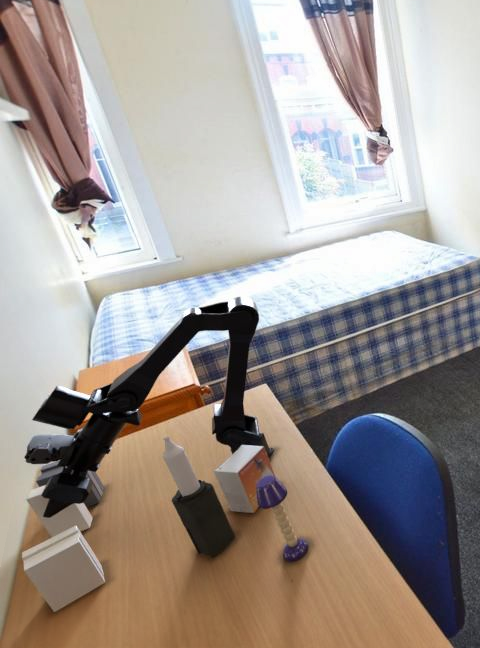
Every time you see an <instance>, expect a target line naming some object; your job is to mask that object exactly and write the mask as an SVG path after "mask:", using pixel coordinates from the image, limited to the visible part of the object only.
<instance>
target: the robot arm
mask: <svg viewBox="0 0 480 648" xmlns="http://www.w3.org/2000/svg"><path fill="white" fill-rule="evenodd" d="M259 321H260V314H259V310H258V306H257V304H256V302H255V301H254V300H253V299H252V298H250V297H248V296H236V297H234V298H233V299H231V300H228V301H221V302H216V303H213V304H209V305H204V306H199V307H198V306H197V307H190V308H187V309H186V310H185V311H184V312H183V313H182V316H181V317H180V318H179V319H178V320H177V322H175V324H174V325H172V327H170V329H169V330H168V331H167V332H166V333H165V334H164V336H163V337H162V338H160V340H158V342H157V343H156V344H155V345H154V347H153V348H151V350H150V351H149V352H148V353H147V354H146V355H145V357H144V358H142V359H141V360H140V361H138V362H137V363H135V364H133V365H131V366H130V367H129V368H127V369H126V370H125V371H123V372H122V373H120V374H119V375H118V376H117V377H115V378H114V379H113V381H112V382H110V383H108V384H106V385H103V386H100V387H98V388H96V389H93V390H92V391H91V394H90V395H89V394H86V393H82V392H78V391H76V390H72V389H70V388H67V387H65V386H62V385H56V386H55V387H54V389H53V390H52V392H51V393H50V394H49V395H48V394H47V397H46V398H45V400H44V401H43V402H42V404H41V405H40V407H39V408H38V410H37V412H36V413H35V414H34V416H33V418H32V419H31V421H33V422H37V423H42V424H46V425H50V426H53V427H58V428H62V429H66V430H75V428H76V427H77V426H78V427H81V425H82V424H83V423H84V421H85V420H86V419H87V417H88V415H89V414H91V415H90V417H89V418H88V420H87V421H86V423H85V424H84V426H83V427H82V428H80V429H77V431H75V433H72V434H71V435H67V434H37V435H34V436H32V437H31V439H30V440H29V442H28V444H27V446H26V454H25V455H24V456H23V457H24V459H25V462H26V463H27V464H30V465H47V464H50V463H53V462H56V461H59V462H58V464H57V466H61V467H64V468H63V470H62V472H61V473H58V474H55V475H52V477H51V478H50V480H49V481H48V483H47V485H46V486H45V488H44V490H43V492H42V494H41V496H42V497H44V498H47V499H49V501H48V504H47V507H46V509H45V512H44V515H43V517H46V518H50V517H52V516H54V515H55V514H57V513H59V512H60V511H62V510H63V509H65V508H67V507H68V506H70V505H72V504H74V503H76V504H81V503H84V501H85V500H86V498H87V497H88V495H89V493H90V491H91V488H92V485H93V482H92V481H91V479H90V478H87V477H86V475H87V472H88V471H93V472H96V473H97V472H98V470H99V469H100V465H101V463H102V461H103V459H104V458H105V456H106V455H109V454H110V452H111V451H112V448H113V445H114V443H115V442H116V441H117V439H118V437H119V436H120V434H121V433H122V431H123V430H124V428H125V427H126V425H127V424H128V425H132V426H137V427H139V426H140V425H141V422H142V419H143V414H142V413H141V412H140V408H141V407H142V405H143V404H144V403H145V401H146V399H147V398H148V396H149V395H150V393H151V391H152V389H153V388H154V386H155V383H156V382H157V380H158V378H159V376H160V375H161V374H162V373H163V372H164V371H165V369H167V368H168V366H169V365H170V364H171V363H172V362H173V361H174V359H176V357H177V356H178V355H179V354H180V353H181V352H182V351H183V350H184V348H186V347H187V346H188V344H189V343H190V342H191V341H193V339H194V337H195V336H196V335H197V334H198V333H200V332H206V331H207V332H208V331H209V332H211V331H212V332H225V331H228V339H229V341H228V351H227V352H228V353H227V362H226V374H225V381H224V382H225V384H224V395H223V399H222V400H221V403H219V404H218V403H213V417H211V435H215V439H216V441H217V442H218V443H220V444H221V445H224V446H228V447H229V448H230V452H231V455H232V454H233V453H234V452H235V451H237V450H238V449H239V447H240V446H241V445H252V446H264V447H265V450H266V453H267V455H268V458H269V459H270V457H271V456H272V455H273V453H274V451H275V448H274V447H270V446H269V444H268V441H267V437H266V436H265V433H264V432H261V431H260V428H259V422H258V417H256V416H252V415H249V414H246V413H245V407H244V401H245V400H244V399H245V392H246V391H245V390H246V381H247V374H248V373H247V371H248V370H247V369H248V364H249V354H250V346H251V342H252V340H253V338H254V336H255V334H256V330H257V328H258V325H259Z"/></svg>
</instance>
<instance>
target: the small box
mask: <svg viewBox="0 0 480 648" xmlns="http://www.w3.org/2000/svg"><path fill="white" fill-rule="evenodd" d="M213 473H214V476H215V477H216V481H217V483H218V485H219V487H220V489H221V492H222V494H223V496H224V498H225V501H226V503H227V505H228V507H229V510H230V511H231V512H239V513H248V514H255V512H256V511H257V510H258V508H260V507H259V506H258V503H257V491H256V484H257V482H258V481H259V480H260V479H261V478H262V477H264V476H267V475H273V476H275V477H276V475H275V472H274V469H273V466H272V463H271V461H270V457H269V458H268V455H267V453H266V450H265V447H264V446H252V445H241V446H240V447H239V449H238V450H237V451H235V452H234V453H233V454H232V453H231V455H230V456H229V457H228V458H227V459H226V460H225V461H223V463H221V464H220V465H219V466H218V467H217V468H216V469H214V471H213Z"/></svg>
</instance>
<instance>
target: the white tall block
mask: <svg viewBox="0 0 480 648" xmlns="http://www.w3.org/2000/svg"><path fill="white" fill-rule="evenodd" d="M45 486H46V485H44V486H41V487H39V486H38V487H36V488H32V489H31V490H30V491H29V494H28V495H27V498H26V502H27V503H28V505H29V506H30V507H31V509H32V511H33V513H34V514H35V515H36V516H37V518H38V520H39V521H40V523H41V524H42V526H43V527H44V528H45V530H46V532H47V534H48V535H49V536H50V538H52V537H54V536H56V535H58V534H60V533H62V532H64V531H66V530H68V529H70V528H72V527H74V526H77V527H78V529H79V530H80V532H81V533H82V532H83V531H85V530H89V529H90V528H91V525H92V523H93V519H94V518H93V516H92V514H91V513H90V511H89V509H88V507H86V506H85V504H84V503H81V504H76V503H74V504H72V505H70V506H68V507H67V508H65V509H63V510H62V511H60V512H59V513H57V514H55V515H54V516H52V517H50V518H46V517H43V515H44V512H45V509H46V507H47V504H48V501H49V499H47V498H44V497H42V496H41V494H42V492H43V490H44V488H45Z"/></svg>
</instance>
